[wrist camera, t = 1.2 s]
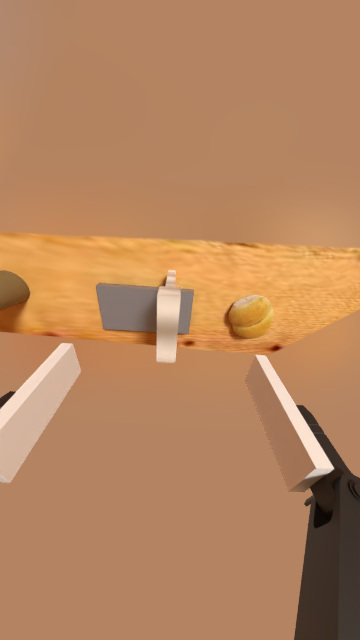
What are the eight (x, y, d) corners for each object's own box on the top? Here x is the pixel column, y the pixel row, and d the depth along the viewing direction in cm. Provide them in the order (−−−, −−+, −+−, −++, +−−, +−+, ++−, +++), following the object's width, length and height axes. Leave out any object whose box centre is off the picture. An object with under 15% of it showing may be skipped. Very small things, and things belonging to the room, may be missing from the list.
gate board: (106, 324, 36) (103, 329, 34) (99, 283, 31) (95, 285, 30) (188, 329, 36) (188, 334, 35) (193, 289, 32) (193, 292, 31)
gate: (175, 330, 34) (174, 371, 25) (162, 329, 34) (156, 370, 25) (180, 270, 28) (180, 297, 19) (164, 269, 28) (157, 295, 19)
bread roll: (236, 337, 38) (242, 350, 35) (222, 305, 34) (227, 315, 30) (274, 323, 36) (284, 334, 33) (265, 287, 32) (275, 295, 28)
